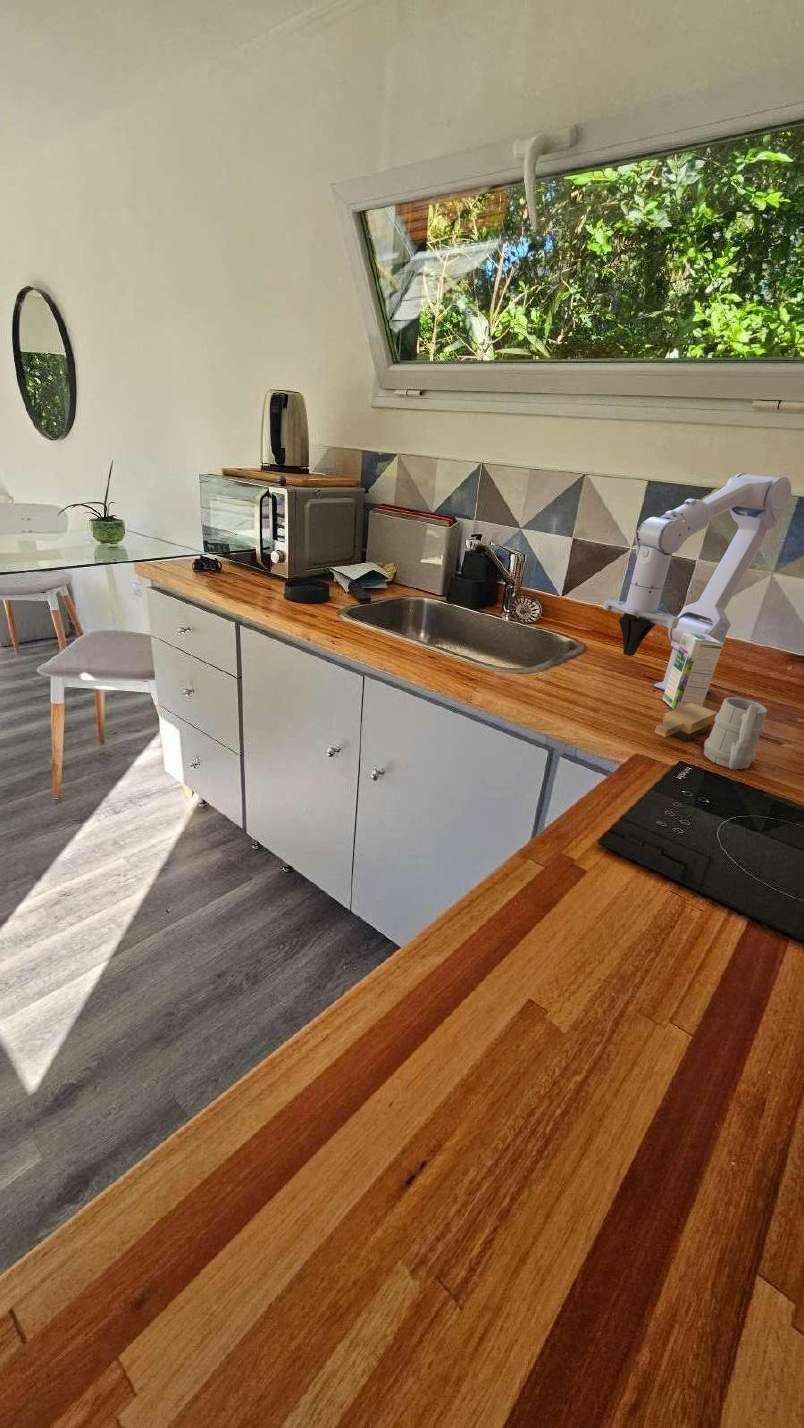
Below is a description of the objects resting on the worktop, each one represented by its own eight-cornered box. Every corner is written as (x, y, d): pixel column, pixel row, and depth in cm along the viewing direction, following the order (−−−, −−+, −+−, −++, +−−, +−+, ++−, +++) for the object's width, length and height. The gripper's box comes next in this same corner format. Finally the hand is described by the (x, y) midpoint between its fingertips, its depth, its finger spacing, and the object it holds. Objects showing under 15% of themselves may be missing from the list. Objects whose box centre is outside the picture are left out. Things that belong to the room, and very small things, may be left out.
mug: (748, 754, 101) (773, 689, 96) (758, 786, 91) (786, 715, 86) (700, 743, 104) (721, 679, 99) (704, 773, 93) (728, 703, 89)
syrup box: (661, 699, 122) (681, 631, 116) (689, 701, 122) (710, 633, 116) (672, 710, 117) (694, 639, 111) (702, 713, 117) (725, 642, 111)
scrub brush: (686, 719, 113) (691, 702, 112) (712, 730, 110) (718, 712, 108) (643, 738, 104) (649, 719, 102) (670, 749, 100) (676, 730, 99)
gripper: (601, 578, 113) (585, 646, 119) (672, 596, 103) (652, 669, 109) (621, 576, 118) (605, 641, 123) (692, 593, 108) (671, 663, 113)
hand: (628, 654), depth 116 cm, fingers closed
